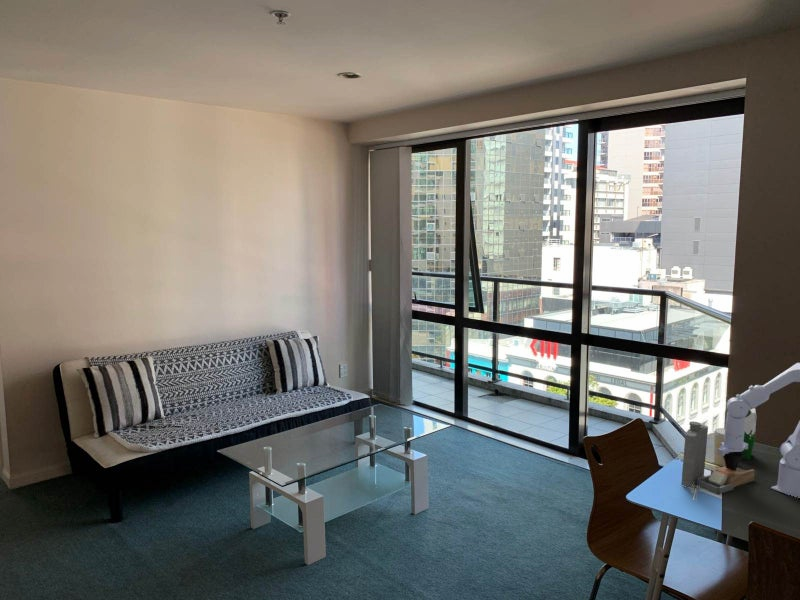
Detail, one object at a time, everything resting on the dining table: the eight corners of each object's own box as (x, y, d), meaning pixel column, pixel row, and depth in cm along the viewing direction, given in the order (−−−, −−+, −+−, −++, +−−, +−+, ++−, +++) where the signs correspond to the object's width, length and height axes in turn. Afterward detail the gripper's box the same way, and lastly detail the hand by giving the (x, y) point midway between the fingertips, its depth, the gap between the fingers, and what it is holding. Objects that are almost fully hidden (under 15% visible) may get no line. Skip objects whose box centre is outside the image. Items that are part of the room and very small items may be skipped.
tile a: (734, 476, 199) (735, 471, 199) (727, 478, 197) (727, 473, 197) (723, 472, 202) (723, 466, 202) (715, 474, 200) (716, 468, 200)
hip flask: (690, 488, 195) (694, 429, 192) (677, 484, 198) (681, 426, 195) (705, 474, 206) (709, 419, 204) (692, 471, 209) (697, 416, 207)
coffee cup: (733, 459, 221) (736, 428, 220) (745, 469, 212) (748, 437, 211) (707, 458, 222) (709, 427, 221) (718, 467, 213) (720, 435, 212)
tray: (733, 489, 195) (733, 483, 194) (718, 494, 191) (719, 488, 190) (709, 480, 201) (710, 474, 201) (695, 485, 197) (696, 479, 197)
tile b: (727, 478, 197) (725, 474, 196) (721, 487, 195) (719, 484, 194) (715, 473, 200) (713, 470, 199) (710, 483, 199) (708, 479, 198)
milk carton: (725, 455, 225) (730, 404, 223) (727, 448, 233) (731, 399, 231) (752, 460, 221) (757, 408, 218) (753, 453, 228) (758, 403, 226)
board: (754, 480, 202) (755, 470, 202) (730, 488, 195) (731, 477, 195) (733, 473, 208) (734, 462, 208) (709, 480, 201) (710, 470, 201)
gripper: (735, 427, 207) (731, 464, 208) (710, 433, 199) (706, 471, 201) (755, 433, 200) (751, 471, 202) (730, 439, 193) (726, 479, 195)
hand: (730, 472), depth 201 cm, fingers closed
